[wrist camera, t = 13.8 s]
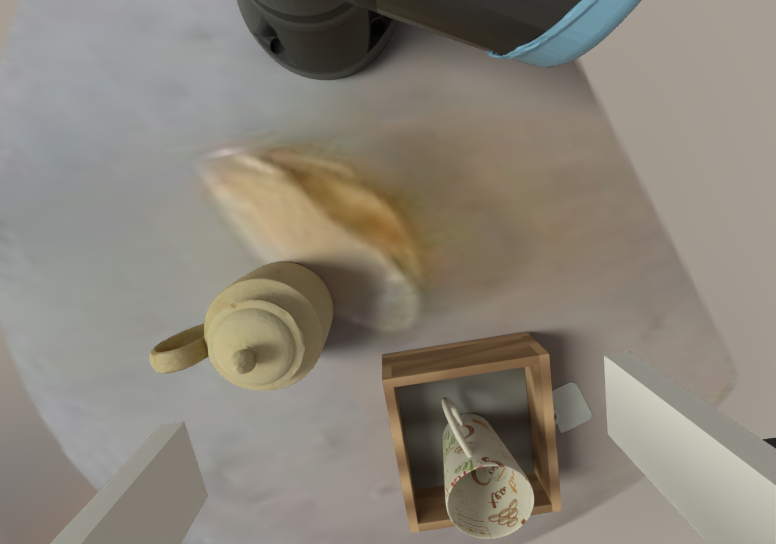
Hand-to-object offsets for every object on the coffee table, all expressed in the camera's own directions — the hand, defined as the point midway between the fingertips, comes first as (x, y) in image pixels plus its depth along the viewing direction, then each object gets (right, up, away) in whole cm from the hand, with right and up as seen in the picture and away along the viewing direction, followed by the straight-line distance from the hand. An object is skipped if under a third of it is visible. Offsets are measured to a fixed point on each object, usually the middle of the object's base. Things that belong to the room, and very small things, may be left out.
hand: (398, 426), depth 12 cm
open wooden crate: (+9, -13, +34) cm, 38 cm away
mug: (+8, -13, +33) cm, 37 cm away
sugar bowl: (-13, 0, +32) cm, 34 cm away
